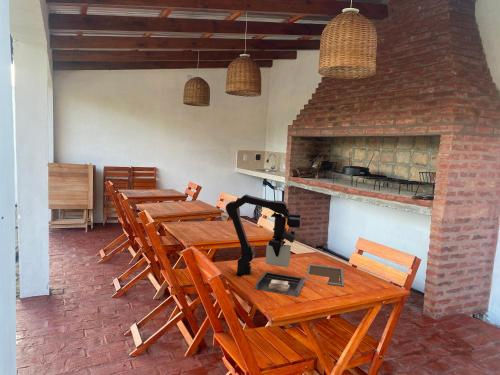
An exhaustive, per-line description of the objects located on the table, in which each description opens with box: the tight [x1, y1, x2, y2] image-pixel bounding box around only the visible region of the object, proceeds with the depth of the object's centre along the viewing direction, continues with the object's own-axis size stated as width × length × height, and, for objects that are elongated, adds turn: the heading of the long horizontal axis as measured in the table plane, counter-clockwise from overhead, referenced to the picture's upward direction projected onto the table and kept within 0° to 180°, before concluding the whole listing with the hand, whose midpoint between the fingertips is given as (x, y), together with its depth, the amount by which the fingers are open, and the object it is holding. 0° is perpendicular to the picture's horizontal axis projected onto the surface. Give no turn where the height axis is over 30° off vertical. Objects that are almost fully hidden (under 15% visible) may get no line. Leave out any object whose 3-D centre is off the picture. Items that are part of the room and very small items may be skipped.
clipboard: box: [305, 264, 345, 288], centre depth 214 cm, size 19×2×30 cm
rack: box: [254, 270, 306, 298], centre depth 190 cm, size 20×19×4 cm
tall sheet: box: [265, 242, 292, 268], centre depth 202 cm, size 12×2×11 cm, turn 73°
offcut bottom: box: [269, 283, 290, 292], centre depth 187 cm, size 9×5×2 cm, turn 73°
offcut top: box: [270, 280, 288, 288], centre depth 187 cm, size 8×4×2 cm, turn 79°
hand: (277, 256), depth 202 cm, fingers closed on tall sheet, 2 cm apart
